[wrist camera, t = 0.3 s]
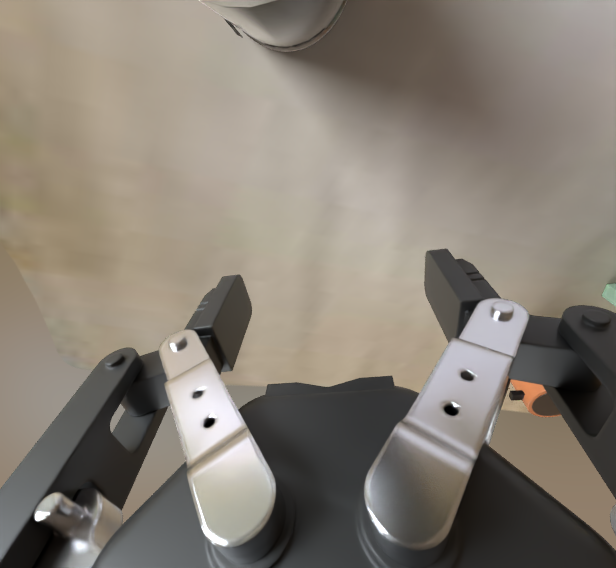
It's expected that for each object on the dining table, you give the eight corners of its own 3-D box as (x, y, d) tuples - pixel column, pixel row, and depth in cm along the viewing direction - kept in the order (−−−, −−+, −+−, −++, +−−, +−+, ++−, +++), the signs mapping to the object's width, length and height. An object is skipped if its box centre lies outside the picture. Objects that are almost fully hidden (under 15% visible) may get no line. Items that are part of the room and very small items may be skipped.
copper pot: (489, 339, 37) (521, 390, 31) (557, 333, 36) (605, 385, 30) (483, 367, 40) (511, 419, 34) (546, 363, 39) (587, 416, 33)
